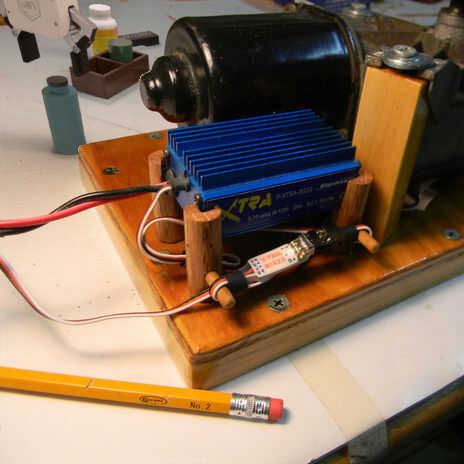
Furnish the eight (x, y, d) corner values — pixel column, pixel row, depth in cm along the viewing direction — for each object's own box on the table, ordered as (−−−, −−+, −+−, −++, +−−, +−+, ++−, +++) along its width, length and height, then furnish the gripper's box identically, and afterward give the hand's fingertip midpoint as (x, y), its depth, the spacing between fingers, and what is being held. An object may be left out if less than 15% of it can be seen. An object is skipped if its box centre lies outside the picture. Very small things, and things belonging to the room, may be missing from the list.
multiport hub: (159, 43, 132) (159, 35, 131) (124, 50, 125) (123, 41, 124) (150, 38, 134) (149, 30, 133) (115, 45, 127) (114, 36, 126)
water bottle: (47, 149, 85) (30, 80, 77) (68, 137, 90) (54, 70, 81) (73, 157, 85) (59, 88, 76) (93, 144, 89) (81, 77, 81)
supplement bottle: (124, 65, 118) (118, 11, 110) (96, 68, 114) (88, 12, 106) (116, 55, 122) (109, 2, 114) (89, 57, 118) (80, 3, 110)
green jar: (107, 77, 110) (102, 42, 105) (120, 70, 114) (116, 36, 109) (126, 82, 109) (122, 47, 104) (139, 75, 113) (136, 41, 108)
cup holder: (73, 91, 104) (68, 66, 100) (119, 68, 116) (116, 45, 112) (107, 102, 102) (104, 77, 99) (150, 77, 115) (148, 54, 111)
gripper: (-43, -60, 65) (-6, 62, 76) (64, -36, 63) (87, 87, 74) (0, -66, 71) (29, 48, 82) (101, -44, 68) (117, 72, 79)
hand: (57, 67), depth 78 cm, fingers open, 9 cm apart
